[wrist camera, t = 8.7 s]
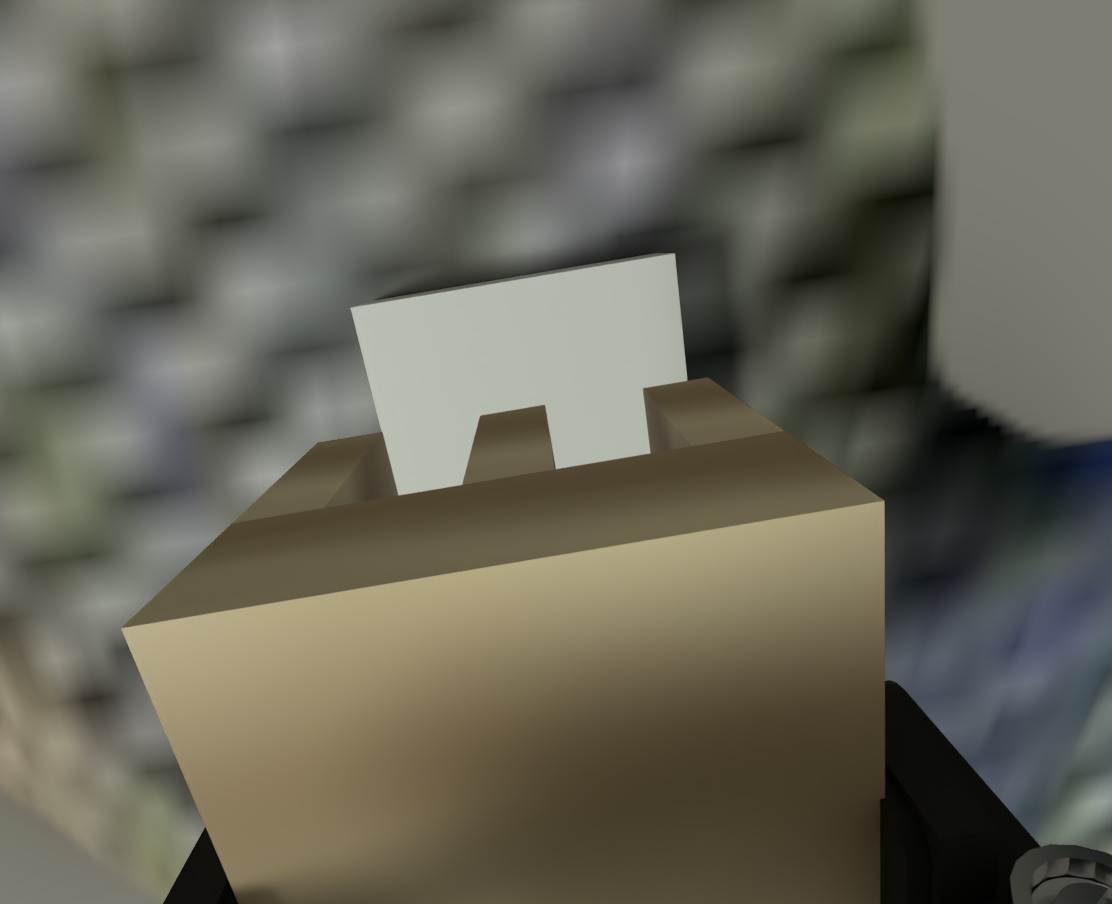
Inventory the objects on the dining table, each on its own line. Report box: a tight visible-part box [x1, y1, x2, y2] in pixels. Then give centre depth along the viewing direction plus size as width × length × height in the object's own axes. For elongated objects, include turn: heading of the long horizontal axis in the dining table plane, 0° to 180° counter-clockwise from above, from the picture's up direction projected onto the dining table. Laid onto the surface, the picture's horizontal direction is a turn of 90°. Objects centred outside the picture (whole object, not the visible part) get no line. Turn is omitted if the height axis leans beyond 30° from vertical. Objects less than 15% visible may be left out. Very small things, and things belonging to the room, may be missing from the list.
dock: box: [351, 253, 687, 495], centre depth 24 cm, size 20×10×3 cm, turn 9°
